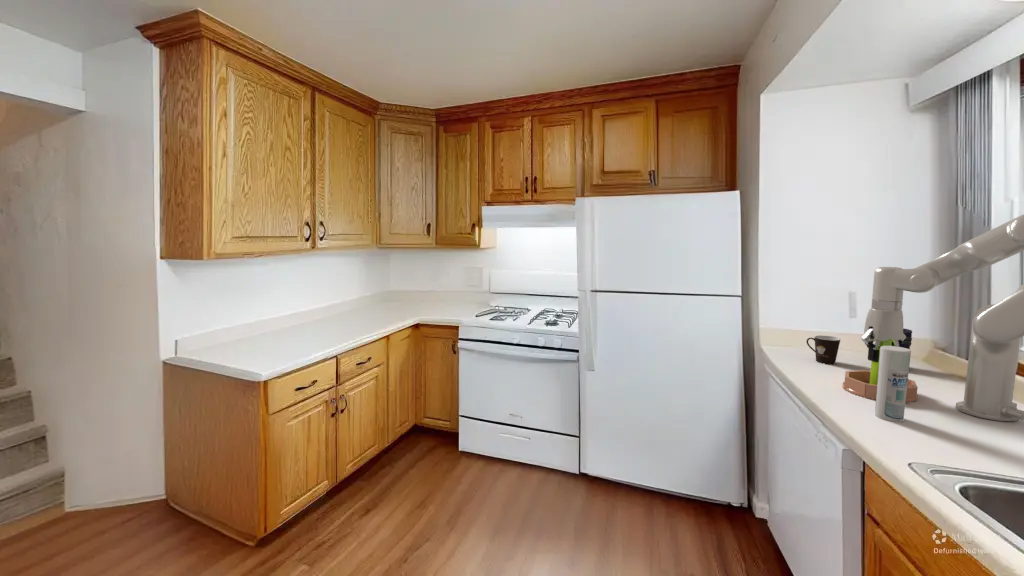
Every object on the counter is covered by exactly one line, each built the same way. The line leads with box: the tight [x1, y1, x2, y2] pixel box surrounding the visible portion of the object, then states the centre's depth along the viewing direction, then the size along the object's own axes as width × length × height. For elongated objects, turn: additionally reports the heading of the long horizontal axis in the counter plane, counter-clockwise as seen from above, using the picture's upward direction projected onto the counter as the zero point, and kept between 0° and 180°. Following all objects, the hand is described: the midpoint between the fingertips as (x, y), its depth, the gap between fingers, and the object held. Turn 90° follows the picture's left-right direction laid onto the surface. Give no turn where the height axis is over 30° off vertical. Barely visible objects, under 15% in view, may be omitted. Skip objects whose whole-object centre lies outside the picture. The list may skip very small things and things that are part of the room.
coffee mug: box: [806, 335, 841, 365], centre depth 184 cm, size 12×9×10 cm
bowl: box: [842, 369, 918, 404], centre depth 148 cm, size 19×19×4 cm
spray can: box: [874, 346, 912, 423], centre depth 127 cm, size 6×6×20 cm
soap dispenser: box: [870, 338, 892, 385], centre depth 146 cm, size 6×7×20 cm
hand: (881, 359), depth 147 cm, fingers closed on soap dispenser, 5 cm apart
